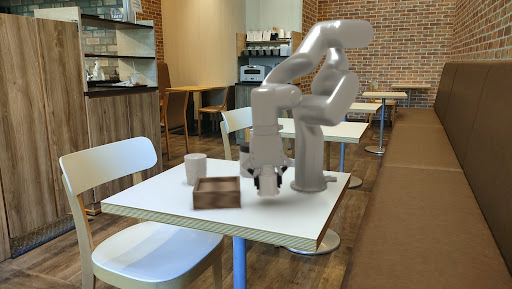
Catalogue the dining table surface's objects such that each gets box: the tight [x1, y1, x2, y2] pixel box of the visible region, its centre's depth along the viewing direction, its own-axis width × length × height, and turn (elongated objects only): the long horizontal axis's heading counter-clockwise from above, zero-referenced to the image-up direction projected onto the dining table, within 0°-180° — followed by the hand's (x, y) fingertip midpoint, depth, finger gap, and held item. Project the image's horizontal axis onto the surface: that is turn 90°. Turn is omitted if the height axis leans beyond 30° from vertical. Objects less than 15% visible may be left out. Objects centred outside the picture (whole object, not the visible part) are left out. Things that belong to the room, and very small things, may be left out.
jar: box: [238, 141, 260, 179], centre depth 138 cm, size 9×8×12 cm
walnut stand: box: [191, 175, 242, 211], centre depth 112 cm, size 14×14×6 cm
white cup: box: [183, 152, 208, 187], centre depth 129 cm, size 8×8×10 cm
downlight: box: [256, 165, 281, 199], centre depth 109 cm, size 8×7×10 cm
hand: (268, 186), depth 110 cm, fingers closed on downlight, 5 cm apart
